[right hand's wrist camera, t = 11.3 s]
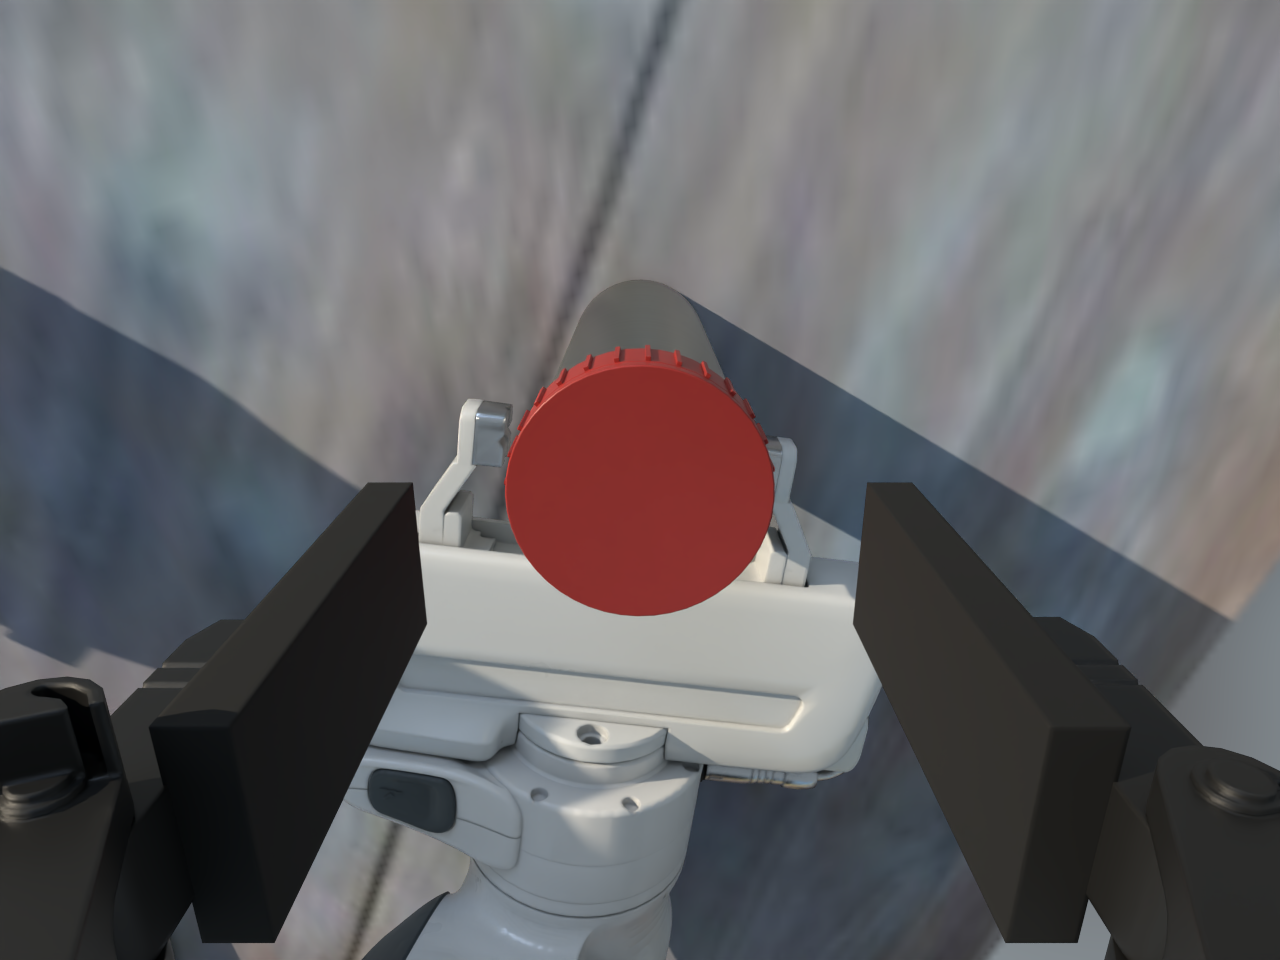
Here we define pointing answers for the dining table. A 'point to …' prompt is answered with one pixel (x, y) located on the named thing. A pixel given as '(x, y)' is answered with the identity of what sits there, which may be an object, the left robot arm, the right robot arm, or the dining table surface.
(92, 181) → the dining table surface
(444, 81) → the dining table surface
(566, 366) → the jar
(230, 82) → the dining table surface
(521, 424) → the lid
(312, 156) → the dining table surface
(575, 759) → the left robot arm
